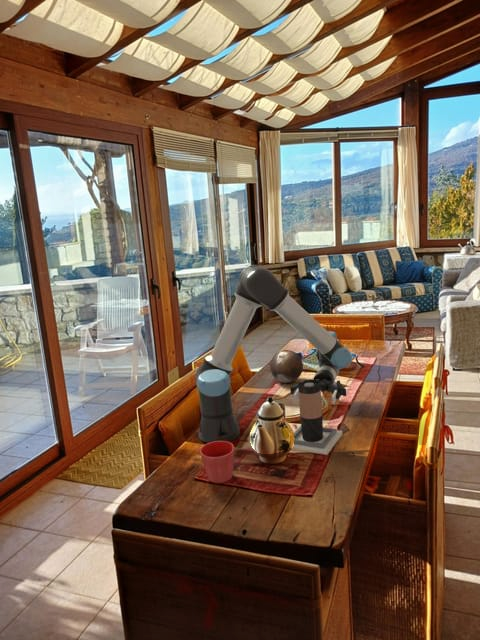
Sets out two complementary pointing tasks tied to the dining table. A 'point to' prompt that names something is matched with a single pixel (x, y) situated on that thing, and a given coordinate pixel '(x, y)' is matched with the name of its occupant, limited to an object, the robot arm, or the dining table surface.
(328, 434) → the mug stand
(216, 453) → the flower pot
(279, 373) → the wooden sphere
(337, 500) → the dining table surface
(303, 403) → the travel mug
